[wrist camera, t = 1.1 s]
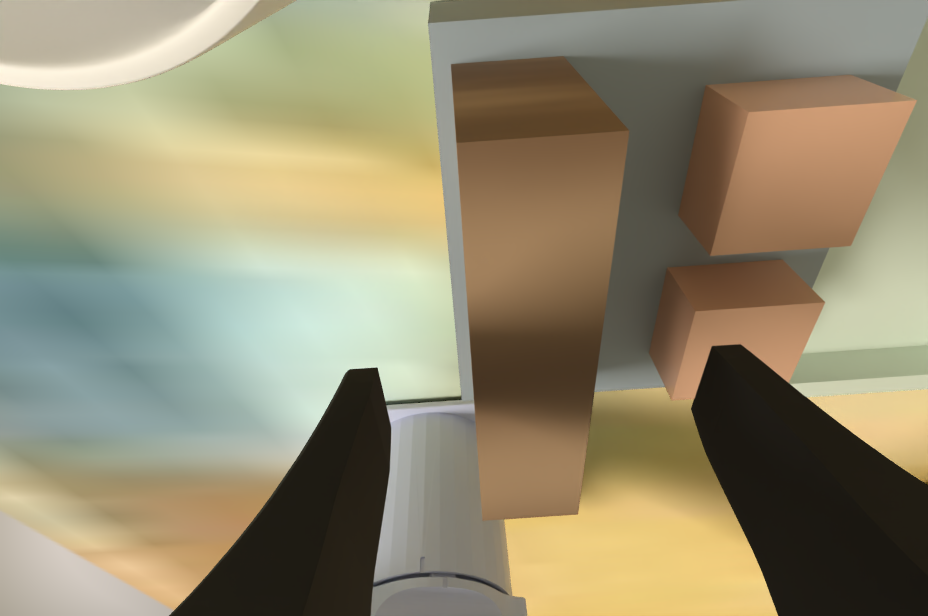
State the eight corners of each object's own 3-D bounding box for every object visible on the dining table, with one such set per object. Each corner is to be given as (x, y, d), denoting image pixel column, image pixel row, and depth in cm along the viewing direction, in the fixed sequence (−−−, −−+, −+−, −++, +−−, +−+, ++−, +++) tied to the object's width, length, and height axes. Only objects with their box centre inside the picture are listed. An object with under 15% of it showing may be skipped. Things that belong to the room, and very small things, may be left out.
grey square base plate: (730, 319, 25) (773, 379, 22) (458, 338, 25) (461, 400, 22) (842, -28, 16) (941, -14, 13) (430, 1, 16) (428, 23, 13)
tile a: (750, 345, 20) (784, 392, 18) (648, 353, 20) (671, 400, 18) (782, 259, 18) (825, 302, 16) (667, 267, 18) (695, 311, 16)
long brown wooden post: (546, 378, 21) (577, 514, 16) (472, 383, 21) (482, 520, 16) (563, 55, 14) (629, 130, 9) (450, 64, 14) (457, 143, 9)
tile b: (801, 206, 17) (850, 245, 15) (678, 215, 17) (710, 256, 15) (850, 74, 14) (916, 100, 12) (705, 85, 14) (748, 111, 12)
